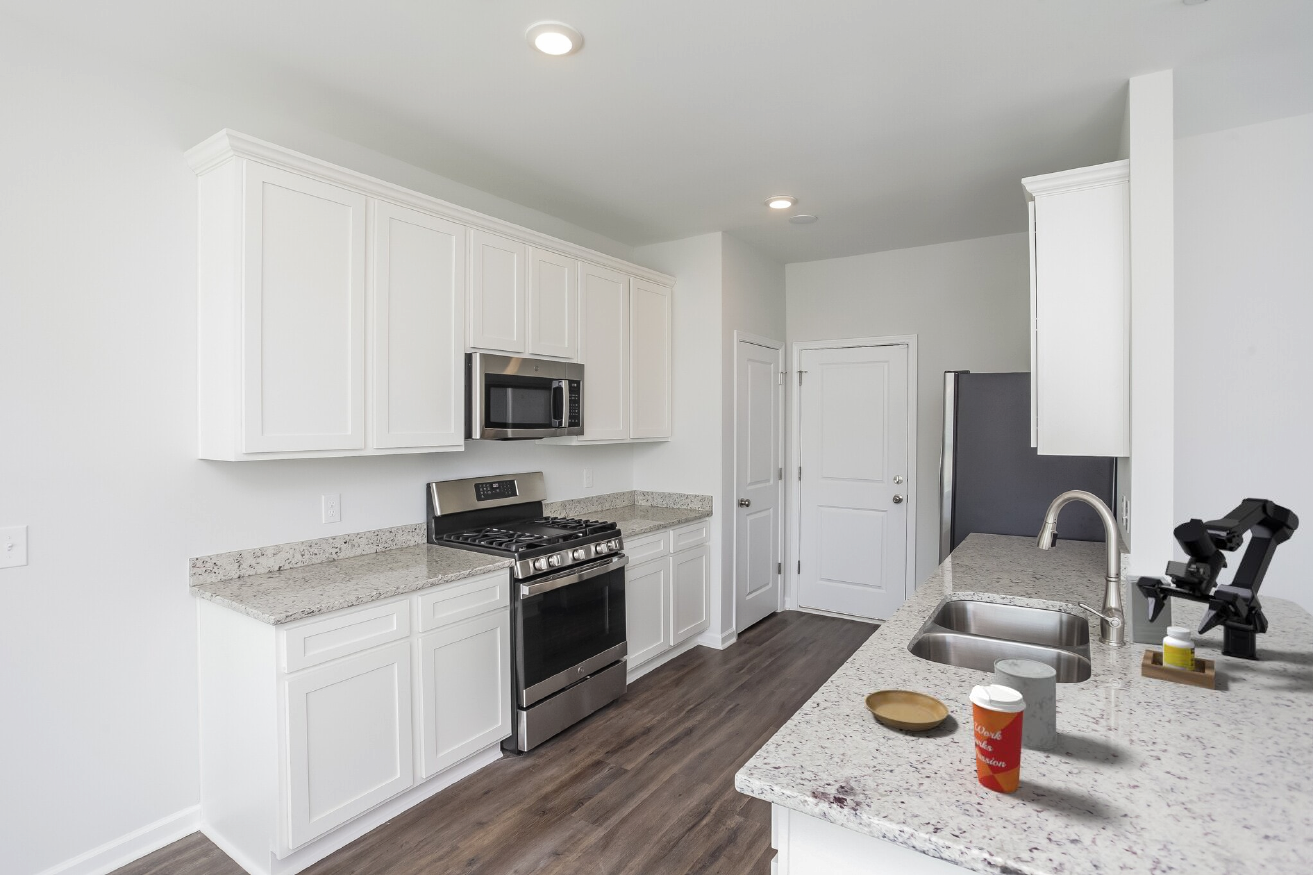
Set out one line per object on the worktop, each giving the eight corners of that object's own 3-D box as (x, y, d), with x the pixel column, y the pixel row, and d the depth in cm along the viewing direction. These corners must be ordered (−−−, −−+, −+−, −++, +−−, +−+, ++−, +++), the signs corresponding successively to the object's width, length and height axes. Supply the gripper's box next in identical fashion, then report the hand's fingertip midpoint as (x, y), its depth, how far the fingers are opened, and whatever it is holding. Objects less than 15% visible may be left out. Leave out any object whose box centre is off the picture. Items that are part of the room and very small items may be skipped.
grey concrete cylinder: (1049, 728, 118) (1049, 660, 118) (1063, 753, 109) (1062, 680, 109) (990, 721, 121) (990, 655, 121) (999, 745, 112) (998, 674, 112)
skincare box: (1165, 638, 165) (1164, 575, 164) (1173, 647, 158) (1173, 582, 158) (1124, 634, 168) (1124, 573, 168) (1131, 643, 162) (1130, 579, 161)
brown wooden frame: (1145, 659, 150) (1145, 649, 150) (1214, 672, 143) (1214, 660, 143) (1141, 675, 141) (1141, 664, 141) (1214, 689, 133) (1214, 677, 133)
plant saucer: (849, 717, 125) (849, 703, 124) (890, 695, 134) (890, 682, 134) (923, 745, 113) (923, 730, 113) (963, 719, 123) (963, 705, 123)
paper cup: (960, 771, 104) (959, 683, 104) (1006, 768, 105) (1005, 681, 105) (989, 799, 96) (988, 704, 96) (1038, 795, 97) (1038, 701, 97)
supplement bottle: (1196, 680, 138) (1196, 634, 138) (1164, 675, 141) (1164, 630, 141) (1192, 672, 143) (1192, 627, 142) (1161, 667, 146) (1161, 623, 145)
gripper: (1140, 541, 151) (1112, 594, 147) (1240, 554, 135) (1211, 615, 130) (1160, 571, 155) (1132, 624, 150) (1259, 588, 138) (1232, 648, 134)
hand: (1174, 627), depth 141 cm, fingers open, 9 cm apart
